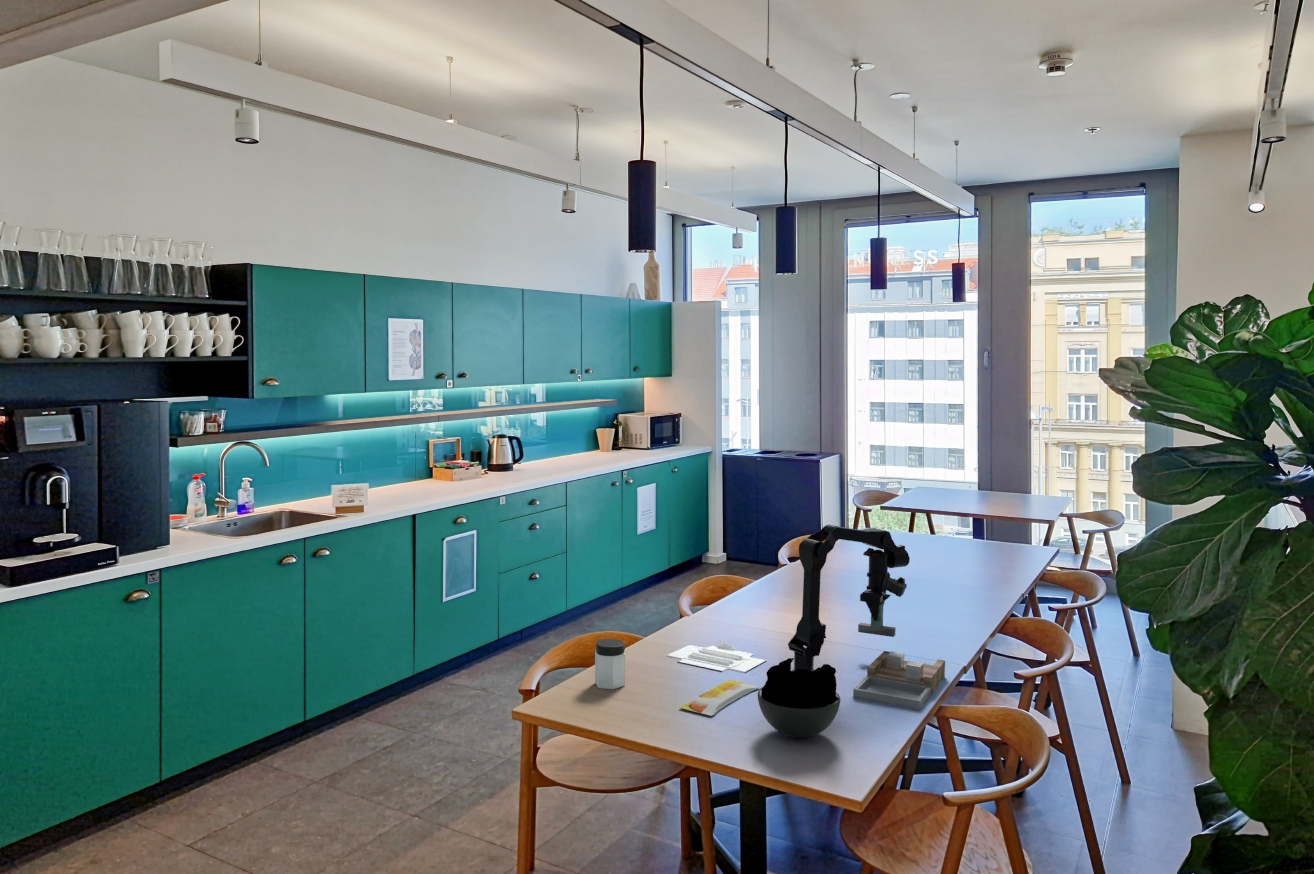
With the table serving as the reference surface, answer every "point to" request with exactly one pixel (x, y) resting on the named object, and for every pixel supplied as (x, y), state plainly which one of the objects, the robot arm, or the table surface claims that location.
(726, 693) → the food package
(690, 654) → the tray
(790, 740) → the table surface
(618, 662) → the jar
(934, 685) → the slot block
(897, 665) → the white cube
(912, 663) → the light grey cube
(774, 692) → the coal bowl
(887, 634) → the rake tool
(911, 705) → the tray
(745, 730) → the table surface
